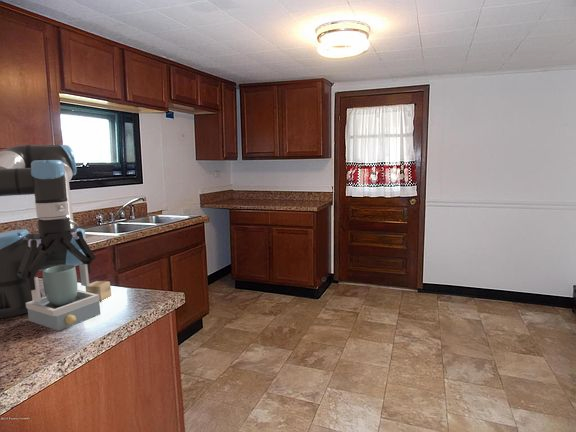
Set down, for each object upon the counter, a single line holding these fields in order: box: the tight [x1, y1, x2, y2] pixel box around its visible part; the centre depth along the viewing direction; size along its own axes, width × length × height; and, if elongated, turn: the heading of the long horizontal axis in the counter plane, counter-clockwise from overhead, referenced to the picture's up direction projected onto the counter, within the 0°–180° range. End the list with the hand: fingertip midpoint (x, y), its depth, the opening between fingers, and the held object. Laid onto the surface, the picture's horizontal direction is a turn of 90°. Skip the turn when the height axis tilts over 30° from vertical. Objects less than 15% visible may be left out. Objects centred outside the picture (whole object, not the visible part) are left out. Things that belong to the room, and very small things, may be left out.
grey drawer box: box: [26, 289, 101, 331], centre depth 108 cm, size 15×13×6 cm
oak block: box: [85, 280, 112, 302], centre depth 123 cm, size 5×5×5 cm
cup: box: [41, 265, 78, 306], centre depth 107 cm, size 8×8×10 cm
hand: (62, 292), depth 107 cm, fingers open, 13 cm apart
